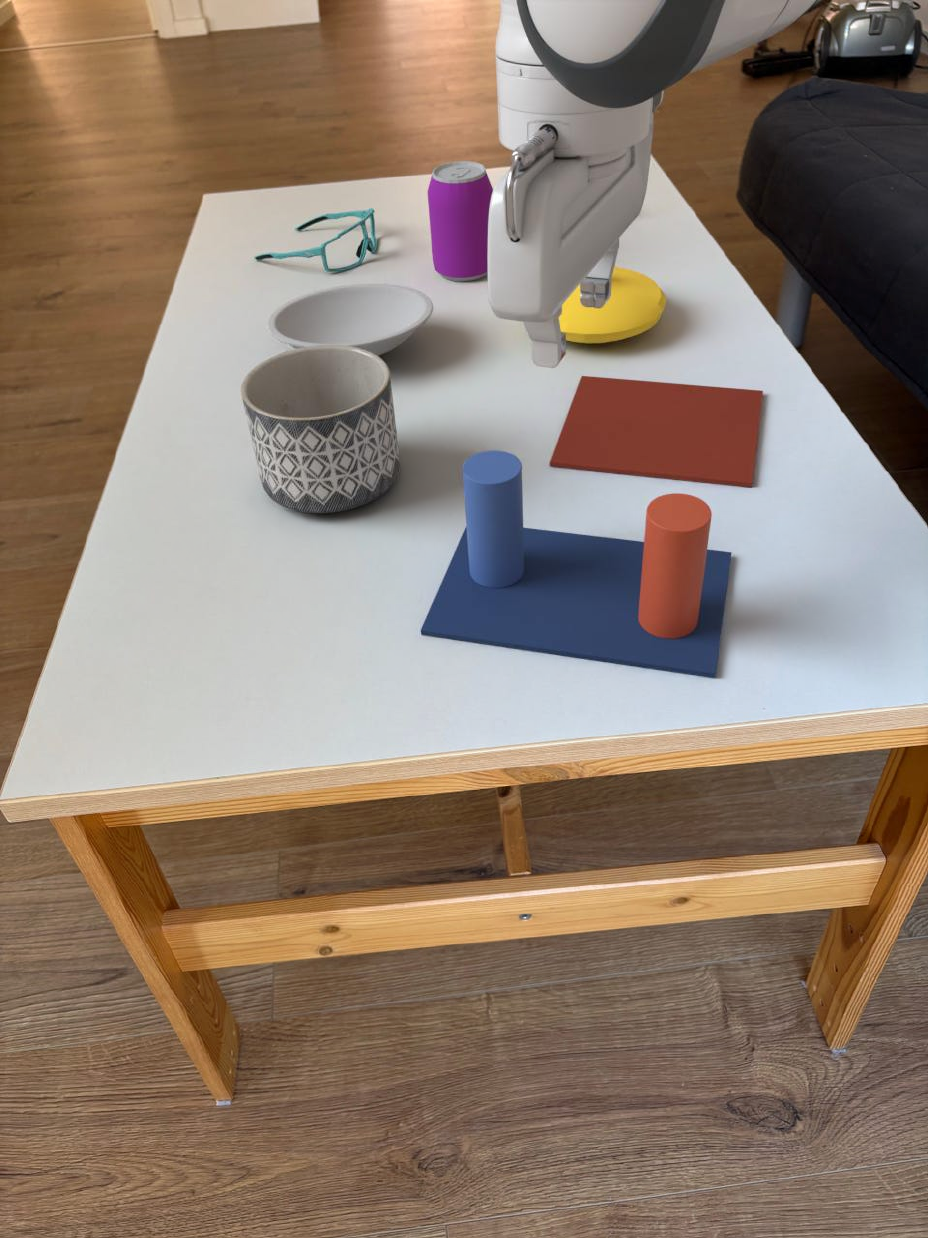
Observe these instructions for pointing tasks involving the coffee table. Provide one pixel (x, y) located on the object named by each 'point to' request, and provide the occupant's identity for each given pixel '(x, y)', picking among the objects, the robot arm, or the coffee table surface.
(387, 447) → the planter
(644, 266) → the coffee table surface
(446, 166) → the beverage can
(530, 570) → the blue mat
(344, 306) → the dish
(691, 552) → the red peg
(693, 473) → the red mat
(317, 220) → the sunglasses
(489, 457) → the blue peg
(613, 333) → the vase
